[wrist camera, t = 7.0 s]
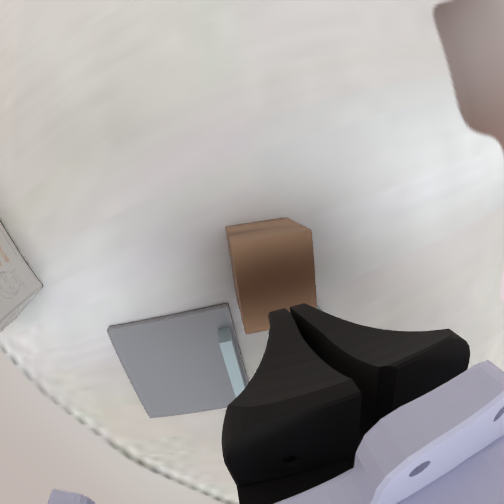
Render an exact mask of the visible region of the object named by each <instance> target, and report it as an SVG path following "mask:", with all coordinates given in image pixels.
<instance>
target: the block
mask: <svg viewBox="0 0 504 504" xmlns="http://www.w3.org/2000/svg"><path fill="white" fill-rule="evenodd" d="M226 233H227V240H228V246H229V252H230V259H231V265H232V271H233V278H234V284H235V290H236V296H237V301H238V305H239V309H240V313H241V317H242V321H243V325H244V329H245V333H246V334H249V333H255V332H260V331H265V330H270V324H269V318H268V314H269V313H270V312H271V311H275V310H279V309H283V308H285V309H287V310H288V311H289V312H290V307H291V306H295V305H299V304H303V303H305V304H307V305H310V306H312V307H314V308H316V309H317V303H316V285H315V270H314V256H313V243H312V232H311V230H310V229H308V228H306V227H304V226H302V225H300V224H298V223H296V222H294V221H292V220H290V219H289V218H287V217H286V218H279V219H272V220H266V221H259V222H252V223H246V224H240V225H233V226H227V227H226Z"/></svg>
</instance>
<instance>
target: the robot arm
mask: <svg viewBox="0 0 504 504" xmlns="http://www.w3.org/2000/svg"><path fill="white" fill-rule="evenodd" d="M268 318H269V324H270V330H269V338H268V342H267V346H266V350H265V353H264V356H263V358H262V361H261V363H260V365H259V367H258V369H257V371H256V373H255V374H254V376H253V378H252V379H251V380H250V382H249V383H248V385H247V386H246V387H245V389H244V390H243V391H242V392H241V393H240V394H239V395H238V396H237V397H236V398H235V399H234V400H233V401H232V402H231V403H230V404H229V405H228V406H227V410H226V414H225V418H224V423H223V430H222V450H223V458H224V462H225V465H226V466H227V468H228V470H229V472H230V474H231V476H232V478H233V480H234V481H235V483H236V485H237V490H238V496H239V503H240V504H504V372H503V371H502V370H501V369H499V368H498V367H497V366H496V365H494V364H493V363H492V362H490V361H489V360H487V361H484V362H482V363H479V364H476V365H474V366H472V367H471V368H469V369H467V368H468V364H469V358H470V349H469V345H468V343H467V342H466V341H465V340H464V339H463V338H461V337H460V336H458V335H457V334H456V333H454V332H453V331H451V330H450V329H442V330H433V331H418V332H406V331H392V330H383V329H376V328H371V327H367V326H362V325H358V324H355V323H352V322H349V321H346V320H343V319H340V318H337V317H335V316H332V315H330V314H328V313H325V312H323V311H321V310H319V309H316V308H314V307H312V306H310V305H307V304H305V303H303V304H299V305H295V306H291V307H290V312H289V311H288V310H287V309H285V308H283V309H279V310H275V311H271V312H270V313H269V314H268ZM48 504H95V502H94V501H92V500H91V499H90V498H88V497H87V496H84V495H82V494H79V493H74V492H68V491H62V490H57V489H53V490H52V492H51V495H50V498H49V501H48Z"/></svg>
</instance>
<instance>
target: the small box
mask: <svg viewBox="0 0 504 504" xmlns="http://www.w3.org/2000/svg"><path fill="white" fill-rule="evenodd" d="M41 289H42V284H41V283H40V282H39V280H38V279H37V278H36V276H35V275H34V273H33V272H32V271H31V269H30V268H29V266H28V265H27V263H26V262H25V261H24V259H23V257H22V256H21V254H20V253H19V251H18V250H17V248H16V247H15V245H14V243H13V242H12V240H11V239H10V237H9V235H8V234H7V232H6V230H5V229H4V227H3V225H2V224H1V222H0V332H1V331H2V330H3V329H5V328H6V327H7V326H8V325H9V324H10V323H11V322H12V321H13V320H14V319H15V318H16V317H17V316H18V314H19V313H20V312H21V311H22V310H23V309H24V308H25V306H26V305H27V304H28V303H29V302H30V301H31V300H32V299H33V298H34V296H35V295H36V294H37V293H38V292H39V291H40V290H41Z"/></svg>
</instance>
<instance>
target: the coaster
mask: <svg viewBox="0 0 504 504" xmlns="http://www.w3.org/2000/svg"><path fill="white" fill-rule="evenodd" d="M226 327H230V331H231V335H232V338H233V342H234V346H235V350H236V353H237V357H238V361H239V364H240V368H241V372H242V375H243V379H244V382H245V386H247V385H248V380H247V376H246V373H245V369H244V365H243V361H242V358H241V354H240V350H239V346H238V342H237V339H236V335H235V331H234V327H233V323H232V319H231V315H230V311H229V307H228V303H226V304H221V305H217V306H212V307H208V308H203V309H198V310H193V311H188V312H184V313H179V314H174V315H169V316H164V317H158V318H153V319H148V320H143V321H137V322H132V323H126V324H121V325H115V326H109V327H108V329H107V332H108V335H109V337H110V339H111V342H112V344H113V346H114V348H115V351H116V353H117V355H118V357H119V359H120V362H121V364H122V366H123V368H124V370H125V372H126V374H127V376H128V378H129V380H130V382H131V384H132V386H133V388H134V390H135V392H136V394H137V396H138V397H139V399H140V401H141V403H142V405H143V407H144V408H145V410H146V412H147V414H148V415H149V417H150V418H156V417H166V416H174V415H182V414H189V413H196V412H203V411H209V410H215V409H220V408H226V407H227V406H228V405H229V404H230V403H231V402H232V401H233V400H234V399H235V398H236V396H235V393H234V390H233V387H232V384H231V381H230V377H229V374H228V371H227V368H226V365H225V361H224V358H223V355H222V351H221V348H220V344H219V335H218V329H221V328H226Z"/></svg>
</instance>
